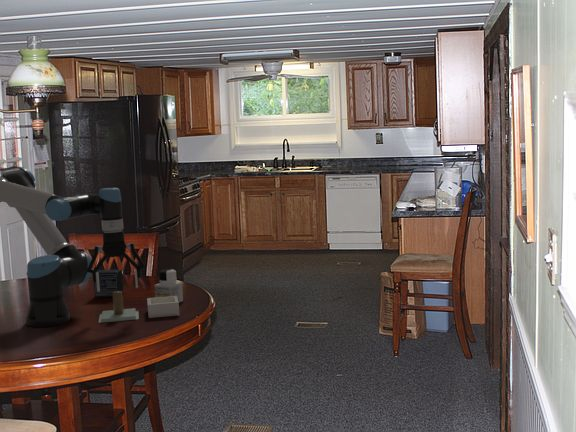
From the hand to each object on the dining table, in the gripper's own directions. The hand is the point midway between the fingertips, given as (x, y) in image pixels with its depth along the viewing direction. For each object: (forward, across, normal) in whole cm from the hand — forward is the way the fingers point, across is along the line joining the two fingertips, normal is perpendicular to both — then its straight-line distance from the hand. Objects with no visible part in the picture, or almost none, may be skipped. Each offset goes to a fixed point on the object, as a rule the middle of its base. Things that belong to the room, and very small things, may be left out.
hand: (117, 289), depth 280 cm
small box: (+10, -5, +38) cm, 40 cm away
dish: (+11, +16, 0) cm, 19 cm away
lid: (+10, 0, 0) cm, 10 cm away
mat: (+10, 0, 0) cm, 11 cm away
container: (+11, +19, +17) cm, 27 cm away
